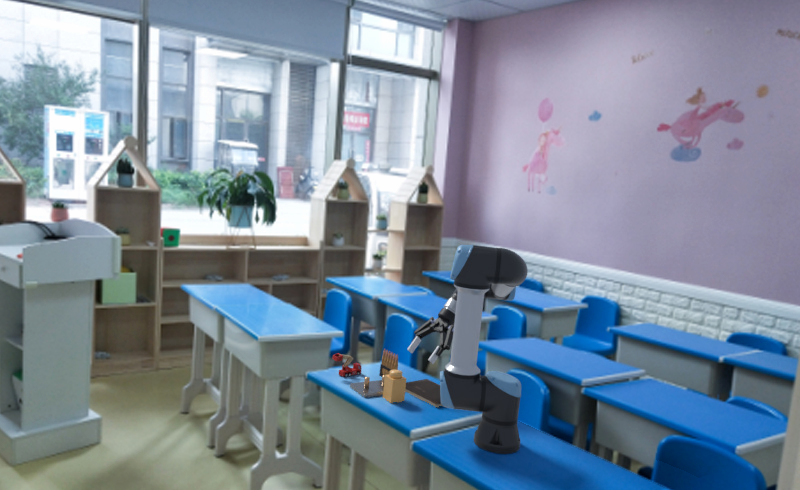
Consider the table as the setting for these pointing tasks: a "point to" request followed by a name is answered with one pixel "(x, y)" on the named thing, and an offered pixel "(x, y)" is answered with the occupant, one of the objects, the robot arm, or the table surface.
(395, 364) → the ammunition clip
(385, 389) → the wooden knobbed peg
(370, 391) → the slate tray with handles
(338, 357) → the toy fire truck
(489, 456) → the table surface
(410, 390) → the hardcover book
